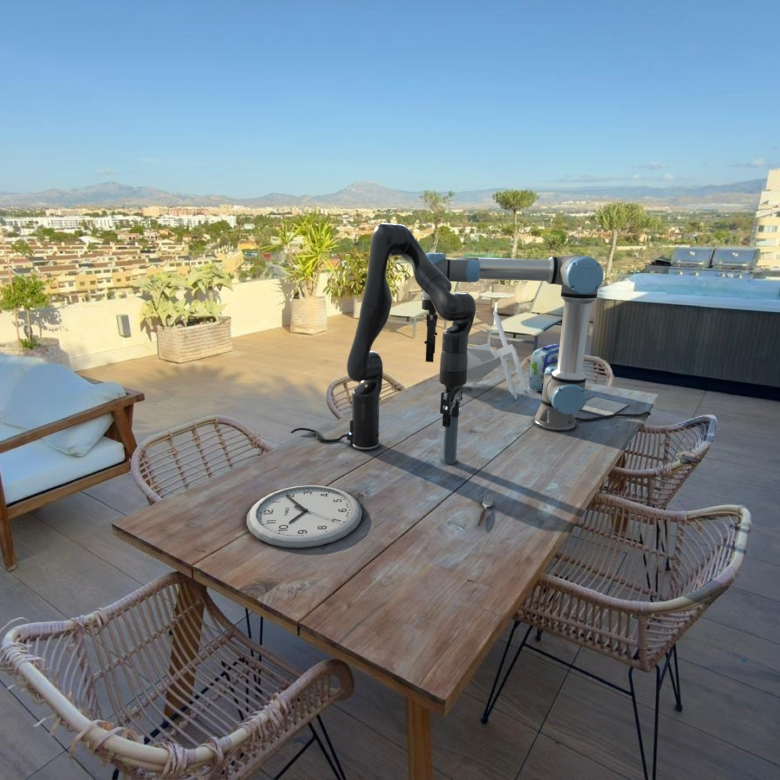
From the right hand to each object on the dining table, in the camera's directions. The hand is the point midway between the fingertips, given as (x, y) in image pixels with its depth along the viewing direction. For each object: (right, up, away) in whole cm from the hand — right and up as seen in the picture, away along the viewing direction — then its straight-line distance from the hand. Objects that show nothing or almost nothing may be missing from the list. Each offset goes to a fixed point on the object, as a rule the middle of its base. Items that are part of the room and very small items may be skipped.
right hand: (430, 357), depth 190 cm
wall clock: (-37, -45, -52) cm, 78 cm away
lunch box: (+62, -11, +62) cm, 88 cm away
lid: (+5, -18, -24) cm, 31 cm away
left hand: (+3, -21, -40) cm, 46 cm away
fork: (+11, -45, -49) cm, 68 cm away
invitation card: (+77, -19, +37) cm, 87 cm away
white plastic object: (+27, -13, +54) cm, 61 cm away
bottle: (+5, -35, -19) cm, 40 cm away
